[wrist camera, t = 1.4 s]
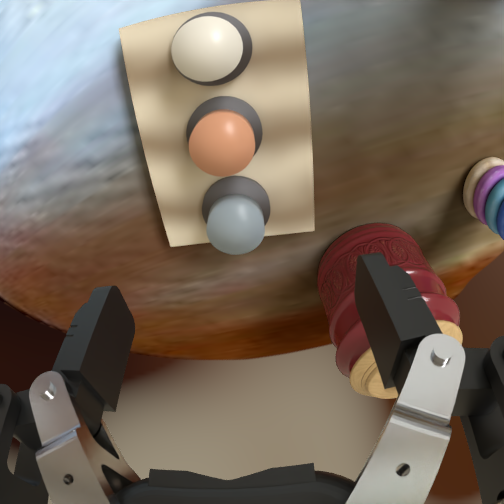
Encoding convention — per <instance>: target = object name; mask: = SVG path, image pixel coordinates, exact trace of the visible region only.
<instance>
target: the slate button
mask: <svg viewBox="0 0 504 504" xmlns="http://www.w3.org/2000/svg"><path fill="white" fill-rule="evenodd" d="M206 232H207V236H208V239H209V241H210V242H211V244H212V245H213V246H214V247H215V248H217V249H218V250H220V251H222V252H224V253H227V254H233V255H238V254H244V253H248V252H250V251H252V250H254V249H255V248H256V247H257V246H258V245H259V244H260V243H261V241H262V240H263V237H264V234H265V226H264V217H263V212H262V209H261V207H260V205H259V204H258V203H257V202H256V201H255V200H254V199H252V198H251V197H249V196H247V195H243V194H228V195H225V196H223V197H221V198H219V199H218V200H217V201H215V203H214V204H213V205H212V207H211V208H210V211H209V216H208V222H207V228H206Z"/></svg>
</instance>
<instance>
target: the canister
mask: <svg viewBox="0 0 504 504" xmlns="http://www.w3.org/2000/svg"><path fill="white" fill-rule="evenodd" d="M377 252H381V253H382V254H383V255H384V257H385V259H386V261H387V262H388V264H389V266H396V265H398V266H399V267H400V268H402V269H403V270H404V271H405V272H407V273H408V274H409V275H410V276H411V278H412V280H413V282H414V283H415V285H416V288H418V290H419V292H420V293H421V295H422V298H423V299H424V300H425V302H426V304H427V306H428V307H429V309H430V311H431V313H432V315H433V316H434V318H435V320H436V322H437V324H438V326H439V328H440V329H441V331H442V333H443V334H445V335H449V336H451V337H453V338H455V339H456V340H457V341H458V342H459V343H460V344H462V332H461V330H460V329H459V327H458V326H459V321H460V313H459V309H458V306H457V305H456V303H455V302H454V301H453V300H452V299H451V298H449V297H447V296H446V289H445V286H444V284H443V282H442V281H441V279H440V278H439V277H438V276H437V275H436V274H435V273H434V271H433V269H432V268H431V266H430V265H429V263H428V262H427V260H426V259H425V257H424V256H423V253H422V251H421V249H420V247H419V246H418V244H417V243H416V241H415V240H414V239H413V238H412V237H411V236H410V235H409V234H407V233H406V232H405V231H403V230H402V229H400V228H399V227H397V226H394V225H391V224H386V223H372V224H366V225H362V226H359V227H356V228H354V229H352V230H350V231H348V232H346V233H345V234H343V235H342V236H340V237H339V238H338V239H336V240H335V241H334V242H333V243H332V244H331V245H330V246H329V248H328V249H327V250H326V252H325V253H324V255H323V257H322V259H321V261H320V264H319V267H318V279H317V286H318V291H319V296H320V299H321V301H322V303H323V304H324V308H325V312H326V316H327V320H328V324H329V335H330V339H331V341H332V343H333V345H334V346H335V347H336V348H337V351H336V365H337V367H338V369H339V371H340V372H341V373H342V374H343V375H345V376H346V377H348V378H350V384H351V386H352V387H353V389H354V390H355V391H357V392H358V393H360V394H363V395H366V396H374V397H377V398H383V399H385V398H386V399H389V398H397V397H398V393H397V390H396V387H392V388H388V389H384V386H383V383H382V380H381V376H380V373H379V370H378V367H377V364H376V361H375V359H374V356H373V353H372V350H371V347H370V344H369V341H368V338H367V336H366V333H365V330H364V327H363V324H362V322H361V319H360V316H359V314H358V311H357V308H356V304H355V296H354V290H355V278H356V266H357V258H358V256H359V255H363V254H370V253H377Z"/></svg>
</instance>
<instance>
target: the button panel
mask: <svg viewBox="0 0 504 504" xmlns="http://www.w3.org/2000/svg"><path fill="white" fill-rule="evenodd" d="M204 16H213V17H219V18H222V19H224V20H226V21H228V22H230V23H231V24H232V25H233V26H234V27H235V28H236V29H237V30H238V32H239V34H240V36H241V38H242V43H243V53H242V57H241V59H240V62H239V63H238V65H237V66H236V68H235V69H234V70H233V71H232V72H231V73H229V74H228V75H227V76H225V77H223V78H221V79H218V80H215V81H208V82H202V81H196V80H193V79H190V78H188V77H187V76H185V75H184V74H182V73H181V72H180V71H179V70H178V68H177V67H176V66H175V64H174V62H173V59H172V54H171V47H172V42H173V39H174V37H175V35H176V33H177V32H178V30H179V29H180V28H181V27H182V26H183V25H184V24H186V23H187V22H189V21H191V20H193V19H195V18H199V17H204ZM119 33H120V39H121V44H122V50H123V56H124V61H125V66H126V72H127V77H128V82H129V87H130V91H131V96H132V101H133V105H134V110H135V115H136V119H137V123H138V128H139V132H140V136H141V140H142V145H143V149H144V153H145V157H146V161H147V165H148V168H149V172H150V176H151V180H152V184H153V187H154V191H155V195H156V198H157V202H158V206H159V209H160V213H161V216H162V220H163V223H164V227H165V230H166V233H167V237H168V240H169V243H170V247H174V246H183V245H191V244H200V243H209V242H210V241H209V239H208V236H207V232H206V228H207V222H208V216H209V211H210V208H211V207H212V205H213V204H214V203H215V201H217V200H218V199H219V198H221V197H223V196H225V195H228V194H243V195H247V196H249V197H251V198H252V199H254V200H255V201H256V202H257V203H258V204H259V205H260V207H261V209H262V212H263V217H264V226H265V234H264V236H271V235H281V234H290V233H300V232H309V231H314V182H313V154H312V133H311V115H310V100H309V86H308V73H307V61H306V50H305V40H304V30H303V21H302V12H301V4H300V0H270V1H257V2H246V3H237V4H229V5H221V6H215V7H208V8H202V9H197V10H191V11H186V12H181V13H176V14H172V15H167V16H163V17H159V18H155V19H151V20H147V21H143V22H140V23H136V24H133V25H129V26H126V27H123V28H120V29H119ZM219 109H228V110H233V111H236V112H238V113H240V114H241V115H243V116H244V117H245V118H246V119H247V120H248V121H249V123H250V124H251V126H252V129H253V132H254V138H255V152H254V155H253V158H252V160H251V162H250V163H249V164H248V165H247V167H246V168H244V169H243V170H242V171H240V172H239V173H236V174H234V175H231V176H224V177H220V176H213V175H210V174H208V173H206V172H204V171H202V170H201V169H200V168H199V167H197V166H196V164H195V163H194V162H193V160H192V158H191V156H190V152H189V139H190V136H191V133H192V131H193V129H194V128H195V126H196V124H197V123H198V121H199V120H200V119H201V118H202V117H203V116H204V115H206V114H207V113H209V112H211V111H214V110H219Z"/></svg>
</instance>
